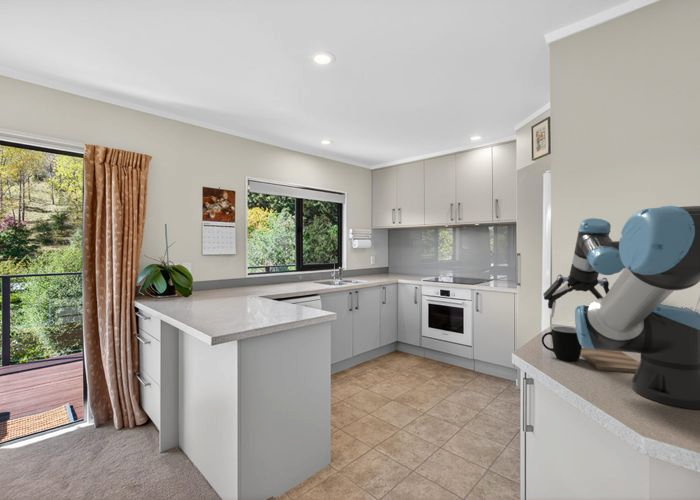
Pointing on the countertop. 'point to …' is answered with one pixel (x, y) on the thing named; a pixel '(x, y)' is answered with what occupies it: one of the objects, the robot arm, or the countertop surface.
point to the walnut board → (609, 360)
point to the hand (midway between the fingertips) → (573, 317)
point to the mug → (564, 343)
